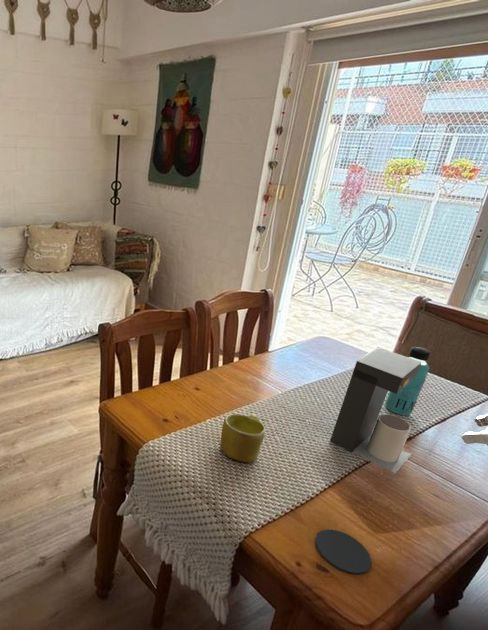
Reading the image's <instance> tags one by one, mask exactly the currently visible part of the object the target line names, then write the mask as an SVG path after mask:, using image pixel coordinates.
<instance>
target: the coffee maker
mask: <svg viewBox="0 0 488 630" xmlns="http://www.w3.org/2000/svg"><path fill="white" fill-rule="evenodd" d="M421 363H422V362H420V361H417V360H414V359H411V358H409V357H408V356H405V355H403V354H400V353H397V352H394V351H392V350H388V349H385V348H382V347H379V346H377V347H376V348H374V349H372V350H371V351H369V352H368V353H366V354H365V355H364V356H362V357H361V358H359V359H357V361H356V362H355V365H354V368H353V371H352V373H351V377H350V380H349V383H348V386H347V389H346V392H345V395H344V398H343V401H342V404H341V407H340V410H339V413H338V415H337V419H336V422H335V424H334V428H333V431H332V433H331V436H330V440H329V442H330V443H332V444H334V445H335V446H338V447H340V448H342V449H344V450H345V451H348V452H349V453H354V454H356V455H358V456H359V457H362V458H364V459H365V460H367V461H369V462H371V463H373V464H375V465H377V466H378V467H381V468H383V469H384V470H386V471H389V472H390V473H392V474H394V475H396V474H397V473H398V471H399V470H401V468H402V467H403V466H404V465H405V463H406V462H407V461H408V460H409V459H410V458H411V457H412V455H413V454H412V453H410V452H409V451H406V450H404V449H403V450H402V452H401V454H400V457H399V459H398V460H397V461H396V462H386V461H383V460H380V459H378V458H376V457H374V456H373V455H371V454H370V453H369V452H368V450H367V445H368V442H369V440H370V437H371V435H372V432H373V429H374V427H375V424H376V422H377V419H378V416H379V415H380V414H381V411H382V408H383V405H384V402H385V400H386V398H387V396H388V393H389V392H393V393H395V394H397V393H398V392H399V391H401V390H402V389H403V388H404V387H405V386H406V385H407V384H409V383H410V382H411V381H412V380H413V379H414V378H415V377H416V376H417V373H418V371H419V368H420V366H421Z"/></svg>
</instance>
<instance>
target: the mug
mask: <svg viewBox="0 0 488 630" xmlns="http://www.w3.org/2000/svg"><path fill="white" fill-rule="evenodd" d="M221 427H222V428H221V433H220V435H221V436H220V448H221V451H222V453H224V455H226V456H227V457H228V458H230V459H232V460H235V461H238V462H242V463H243V462H244V463H253V462H254V461H256V460H257V459H258V458H259V455H260V451H261V447H262V444H263V441H264V439H265V436H266V427H265V425H264V424H263V422H261V421H260V417H259V416H258V414H257V415H256V414H254V413H252V414H250V415H246V414H245V415H244V414H240V413H232V414H228V415H225V417H224V419H223V423H222V426H221Z"/></svg>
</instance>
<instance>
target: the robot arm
mask: <svg viewBox="0 0 488 630" xmlns="http://www.w3.org/2000/svg"><path fill="white" fill-rule="evenodd" d="M474 422H475V423H476V425H477V427H481V428H482V427H486V428H485V430H481V431H480V432H474V431H468V432H464V433H463V434H462V435H461V439H462V441H463V442H464V443H465V445H471V444H479V445H480V444H481V445H486V446H487V447H488V413H487V414H483V415H479V416H476V417H475V419H474Z"/></svg>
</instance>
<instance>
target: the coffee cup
mask: <svg viewBox="0 0 488 630" xmlns="http://www.w3.org/2000/svg"><path fill="white" fill-rule="evenodd" d="M411 431H412V425H411V423H409V422H408V421H406V420H405V419H404V418H402V417H399V416H397V415H394V414H391V413H382V414H381V413H380V414H379V416H378V418H377V421H376V423H375V426H374V429H373V431H372V434H371V437H370V440H369V442H368V445H367V450H368V452H369V453H370V454H371V455H373V456H374V457H376V458H378V459H380V460H383V461H386V462H396V461H397V460H398V459H399V457H400V454H401V452H402V450H404V447H405V445H406V442H407V440H408V438H409V435H410V433H411Z"/></svg>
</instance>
